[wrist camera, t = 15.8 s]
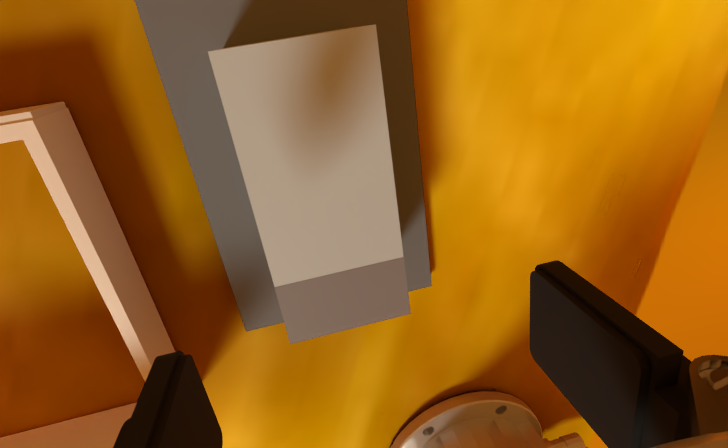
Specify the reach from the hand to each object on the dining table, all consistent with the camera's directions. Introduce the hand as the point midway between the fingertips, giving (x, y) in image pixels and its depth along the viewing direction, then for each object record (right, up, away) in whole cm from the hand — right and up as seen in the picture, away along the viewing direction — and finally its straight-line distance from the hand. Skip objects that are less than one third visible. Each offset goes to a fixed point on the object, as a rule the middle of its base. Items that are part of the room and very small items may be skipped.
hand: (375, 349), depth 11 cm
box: (-3, +6, +9) cm, 11 cm away
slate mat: (-3, +6, +10) cm, 12 cm away
